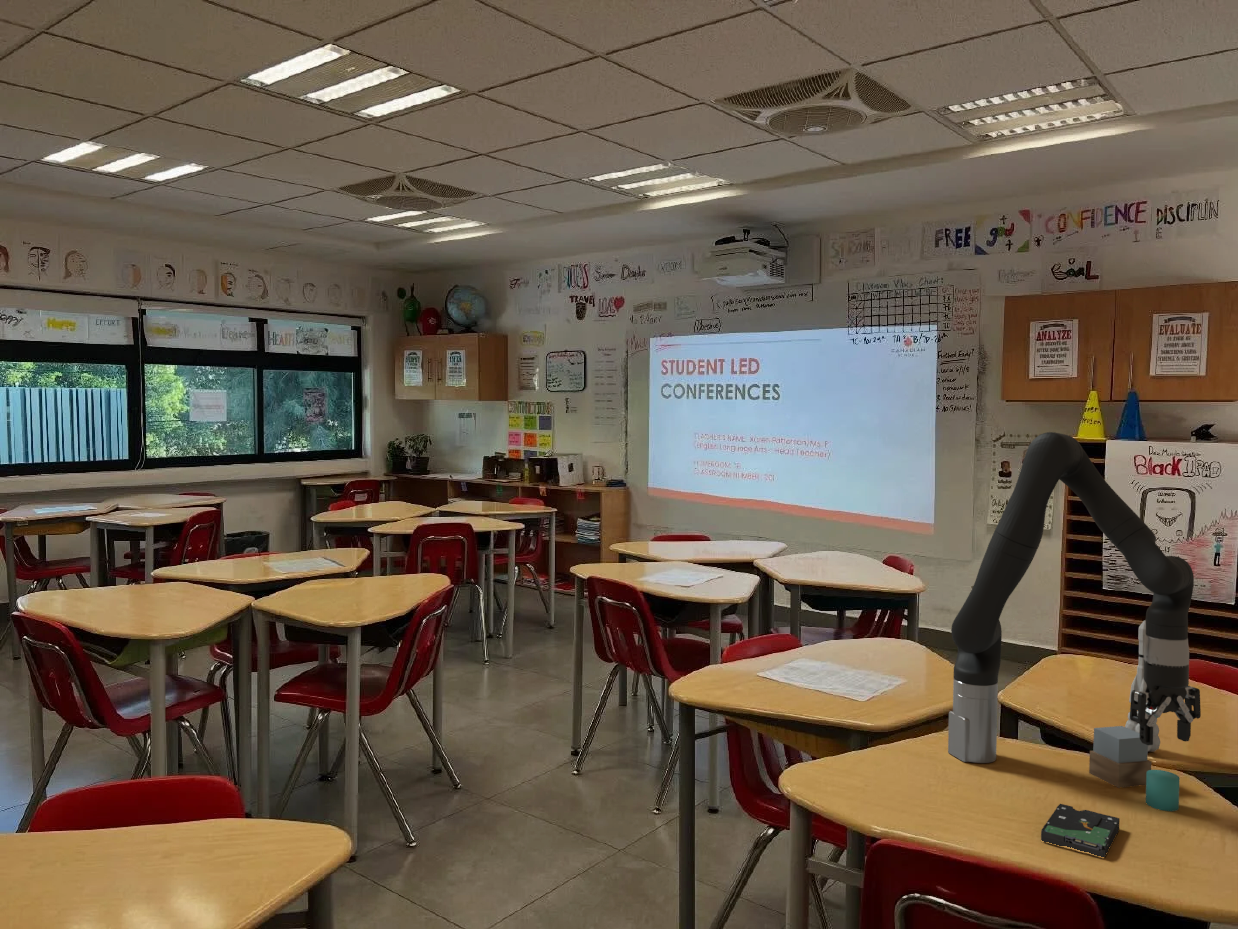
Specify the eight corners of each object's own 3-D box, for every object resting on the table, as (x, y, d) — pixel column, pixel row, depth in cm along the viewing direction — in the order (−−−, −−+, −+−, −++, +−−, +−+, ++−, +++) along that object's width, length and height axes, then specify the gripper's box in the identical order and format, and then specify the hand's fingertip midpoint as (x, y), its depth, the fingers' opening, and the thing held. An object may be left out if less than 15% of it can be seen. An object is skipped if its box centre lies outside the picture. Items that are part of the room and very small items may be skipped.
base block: (1118, 788, 182) (1118, 764, 182) (1089, 774, 190) (1089, 750, 190) (1150, 785, 184) (1151, 761, 184) (1120, 771, 192) (1121, 748, 191)
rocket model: (1157, 747, 205) (1161, 618, 204) (1162, 758, 199) (1166, 625, 197) (1121, 743, 208) (1124, 616, 207) (1124, 753, 202) (1128, 622, 200)
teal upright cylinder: (1161, 812, 170) (1162, 781, 170) (1138, 801, 176) (1139, 771, 175) (1185, 810, 172) (1186, 779, 171) (1162, 798, 177) (1163, 768, 177)
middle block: (1118, 763, 182) (1119, 739, 182) (1093, 751, 189) (1093, 728, 189) (1147, 760, 184) (1148, 737, 184) (1121, 749, 191) (1122, 726, 191)
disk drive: (1057, 817, 169) (1040, 845, 158) (1058, 802, 169) (1040, 829, 157) (1119, 832, 163) (1105, 862, 151) (1120, 817, 163) (1106, 846, 151)
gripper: (1180, 652, 178) (1178, 733, 178) (1120, 657, 175) (1119, 739, 175) (1213, 662, 171) (1211, 745, 171) (1151, 666, 167) (1150, 752, 168)
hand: (1165, 742), depth 173 cm, fingers open, 8 cm apart
